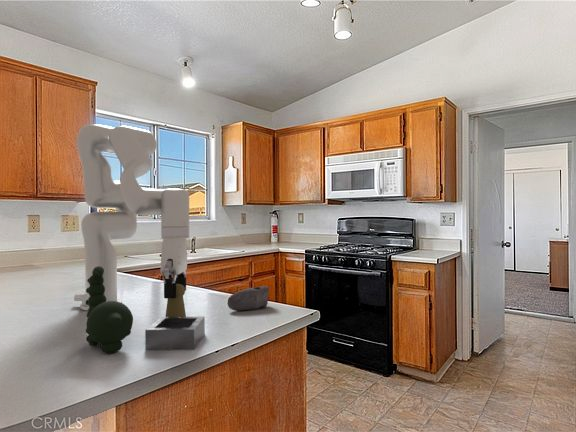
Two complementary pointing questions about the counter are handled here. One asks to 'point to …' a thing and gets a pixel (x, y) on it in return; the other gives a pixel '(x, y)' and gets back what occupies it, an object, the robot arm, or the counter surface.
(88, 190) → the robot arm
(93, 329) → the toy figurine
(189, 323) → the metal open box
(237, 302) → the perforated stone tool
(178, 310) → the cork
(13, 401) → the counter surface
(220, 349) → the counter surface
